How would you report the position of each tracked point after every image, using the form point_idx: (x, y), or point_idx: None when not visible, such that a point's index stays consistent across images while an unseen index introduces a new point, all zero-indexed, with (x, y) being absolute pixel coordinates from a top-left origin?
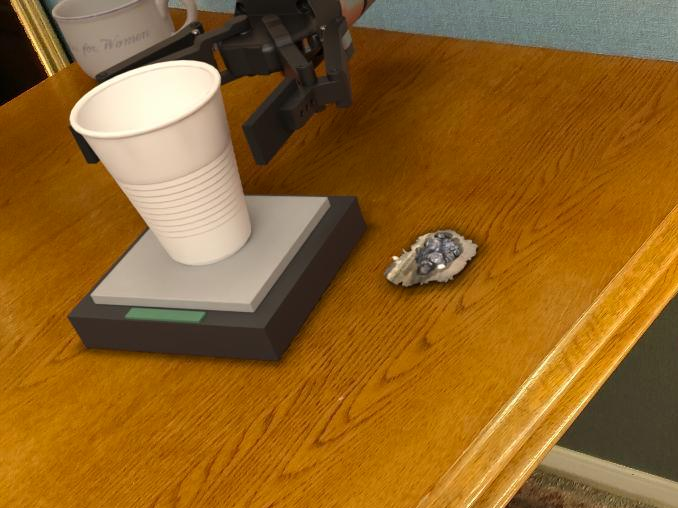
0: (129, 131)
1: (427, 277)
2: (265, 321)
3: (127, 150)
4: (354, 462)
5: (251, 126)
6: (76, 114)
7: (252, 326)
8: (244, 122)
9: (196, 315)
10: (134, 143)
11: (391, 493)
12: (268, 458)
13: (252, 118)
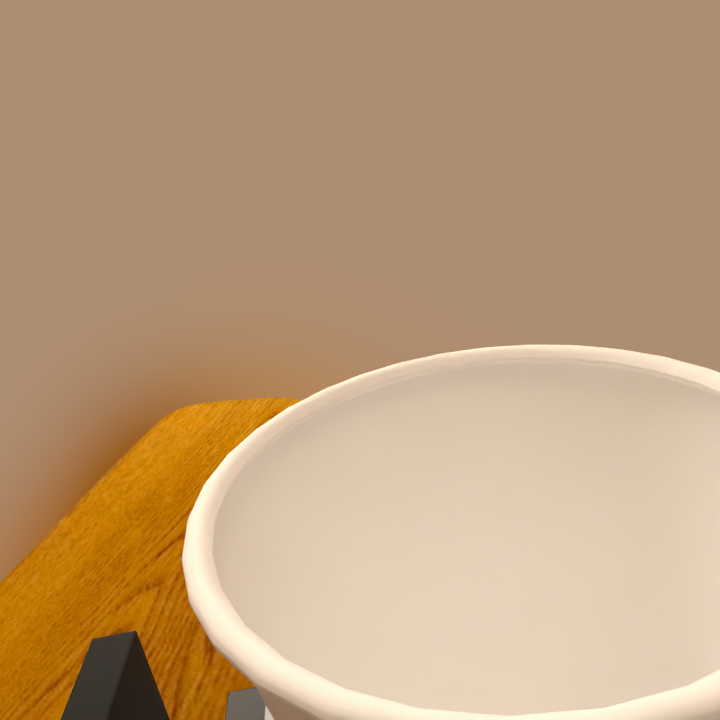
0: (365, 373)
1: None
2: (233, 709)
3: (411, 417)
4: (62, 625)
5: (93, 639)
6: (666, 370)
7: (254, 688)
8: (129, 651)
9: None
10: (381, 409)
11: (10, 607)
12: (186, 596)
13: (101, 679)
